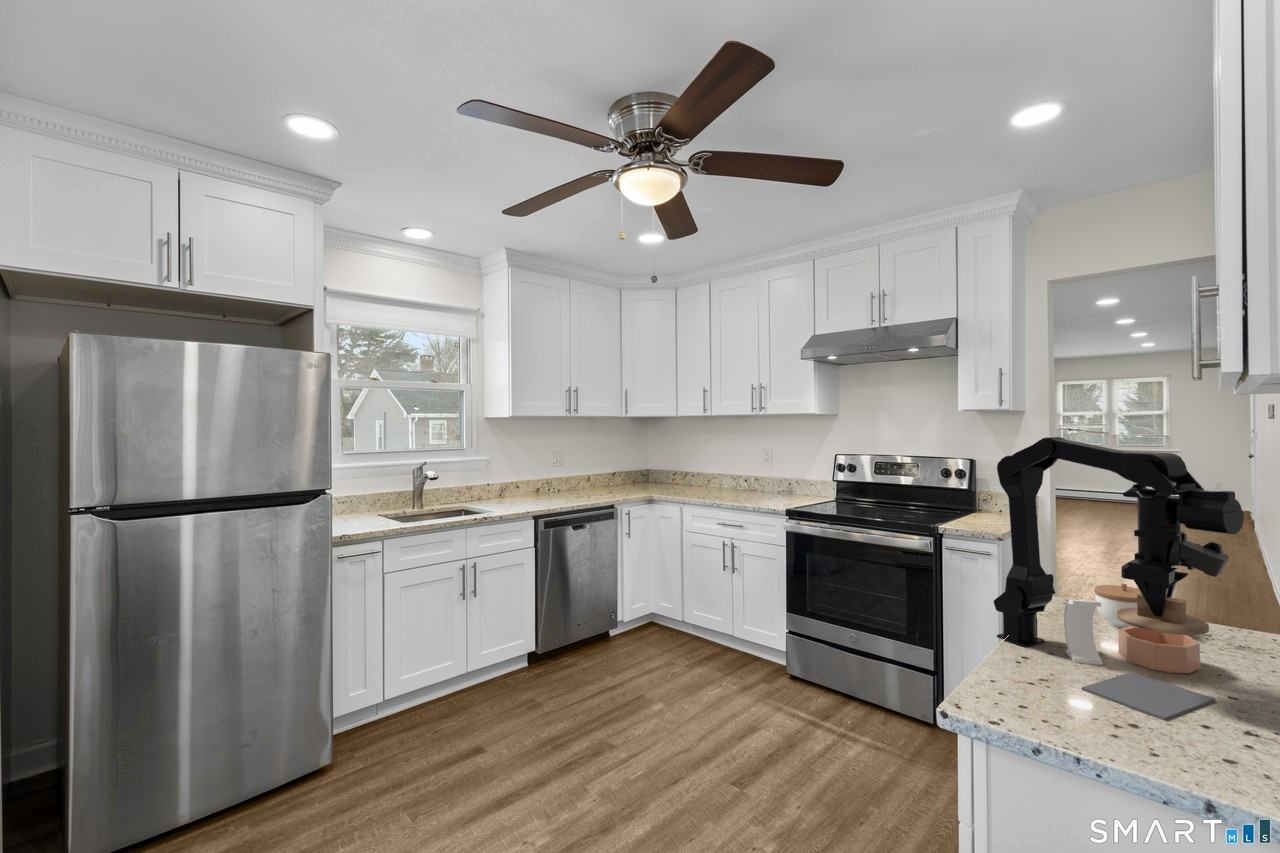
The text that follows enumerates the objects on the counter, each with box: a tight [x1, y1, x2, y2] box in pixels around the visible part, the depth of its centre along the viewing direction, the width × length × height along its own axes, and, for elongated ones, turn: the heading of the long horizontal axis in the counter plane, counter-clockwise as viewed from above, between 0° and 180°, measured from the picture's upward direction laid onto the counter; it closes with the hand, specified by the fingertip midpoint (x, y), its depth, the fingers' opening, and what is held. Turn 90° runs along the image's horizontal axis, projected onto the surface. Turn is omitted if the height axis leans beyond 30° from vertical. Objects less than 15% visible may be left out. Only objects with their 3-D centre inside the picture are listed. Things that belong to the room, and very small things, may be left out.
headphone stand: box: [1063, 598, 1103, 666], centre depth 118 cm, size 5×6×12 cm
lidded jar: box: [1094, 583, 1141, 629], centre depth 136 cm, size 11×11×9 cm
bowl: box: [1117, 626, 1201, 674], centre depth 115 cm, size 11×11×5 cm
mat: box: [1081, 671, 1216, 721], centre depth 102 cm, size 15×12×1 cm
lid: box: [1117, 593, 1210, 636], centre depth 104 cm, size 12×12×4 cm
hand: (1160, 614), depth 104 cm, fingers closed on lid, 2 cm apart
